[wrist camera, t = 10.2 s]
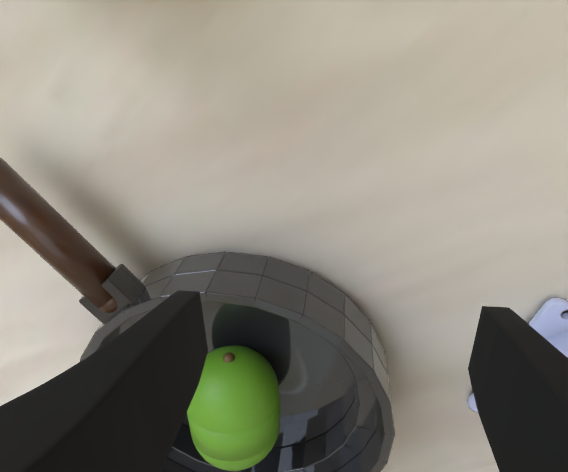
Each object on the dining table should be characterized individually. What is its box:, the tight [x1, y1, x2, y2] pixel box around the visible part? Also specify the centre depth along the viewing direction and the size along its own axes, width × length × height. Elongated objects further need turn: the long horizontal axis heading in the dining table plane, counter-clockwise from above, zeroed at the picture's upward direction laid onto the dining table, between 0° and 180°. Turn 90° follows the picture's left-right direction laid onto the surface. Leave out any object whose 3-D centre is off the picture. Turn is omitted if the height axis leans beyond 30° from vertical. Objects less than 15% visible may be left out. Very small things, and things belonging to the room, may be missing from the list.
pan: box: [80, 252, 395, 472], centre depth 23 cm, size 16×16×4 cm
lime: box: [187, 345, 281, 471], centre depth 23 cm, size 8×5×5 cm, turn 1°
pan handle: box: [0, 158, 146, 324], centre depth 19 cm, size 9×2×2 cm, turn 38°
